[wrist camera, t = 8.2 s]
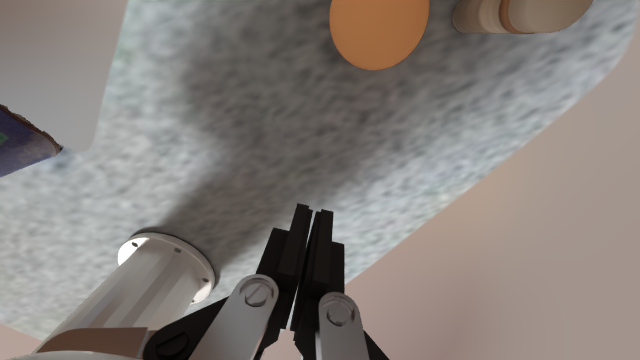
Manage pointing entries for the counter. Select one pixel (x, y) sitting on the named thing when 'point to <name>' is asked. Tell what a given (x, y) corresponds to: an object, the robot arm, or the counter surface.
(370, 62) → the ball
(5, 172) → the flask
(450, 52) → the counter surface
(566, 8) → the pin side
